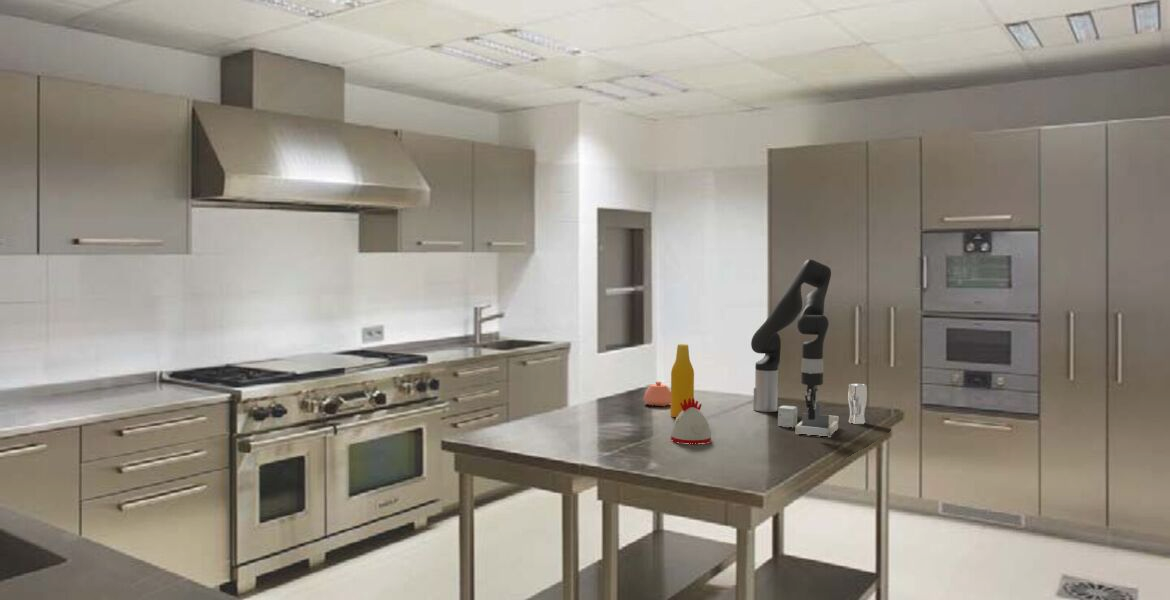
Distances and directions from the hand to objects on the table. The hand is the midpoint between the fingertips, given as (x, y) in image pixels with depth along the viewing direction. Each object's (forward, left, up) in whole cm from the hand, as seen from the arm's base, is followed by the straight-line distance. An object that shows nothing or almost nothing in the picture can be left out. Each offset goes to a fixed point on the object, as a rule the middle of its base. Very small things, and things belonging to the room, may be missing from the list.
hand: (811, 419), depth 303 cm
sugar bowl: (-72, +38, -7) cm, 82 cm away
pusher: (0, +9, -6) cm, 11 cm away
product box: (-12, +18, -7) cm, 23 cm away
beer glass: (+11, +36, -7) cm, 38 cm away
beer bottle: (-54, +17, -7) cm, 57 cm away
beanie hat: (-37, -23, -7) cm, 44 cm away
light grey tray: (0, +13, -7) cm, 15 cm away
